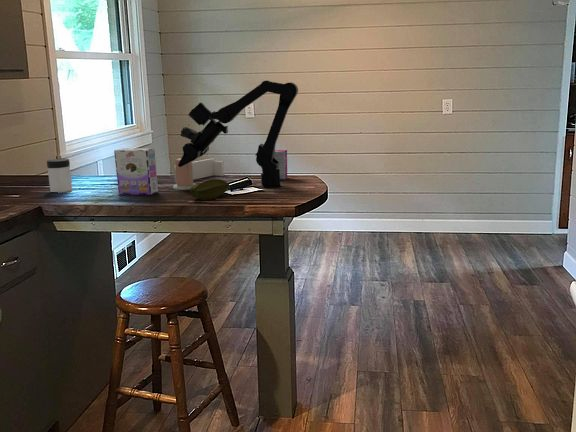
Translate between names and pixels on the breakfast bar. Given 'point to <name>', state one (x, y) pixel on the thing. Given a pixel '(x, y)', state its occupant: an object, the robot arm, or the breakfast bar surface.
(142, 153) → the candy box
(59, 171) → the jar
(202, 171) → the bay
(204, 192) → the fruit
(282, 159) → the supplement box
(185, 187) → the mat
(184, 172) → the block
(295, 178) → the breakfast bar surface
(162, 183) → the breakfast bar surface
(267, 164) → the robot arm
